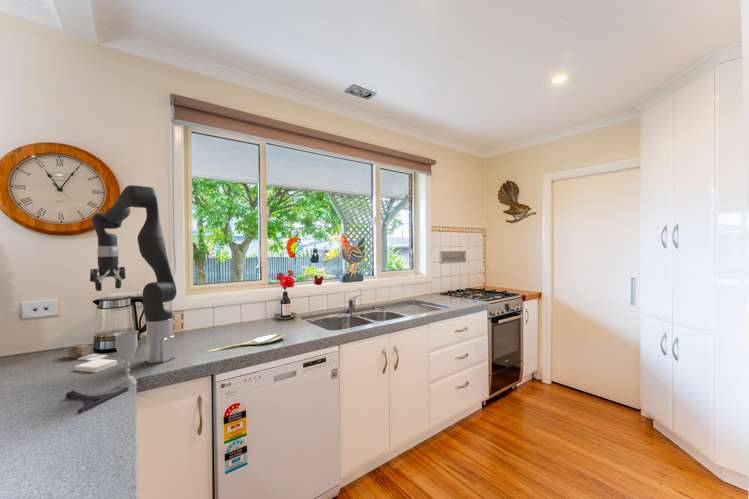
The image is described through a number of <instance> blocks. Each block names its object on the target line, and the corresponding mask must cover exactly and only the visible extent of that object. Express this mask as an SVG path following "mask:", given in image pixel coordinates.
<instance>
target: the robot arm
mask: <svg viewBox="0 0 749 499" xmlns="http://www.w3.org/2000/svg"><path fill="white" fill-rule="evenodd" d="M119 194H120V195H119V196H118V198H117V200H116V201H115V203H114V204H113V205H112V206H110V207H109V208H108V209H106V211H105V213H95V214H94V215H93V216H92V218H91V219H92V220H91V221H92V225H93V228H94V230H95V233H96V237H97V266H98V268H90V271H89V272H90V274H89V282H91V283H94V284H95V285H94V286H95V290H96V292H101V291H102V288H103V287H102V284H103V280H105V278H110V277H112V278H113V279H114V280H115V281H114V282H115V284H114V285H115V286H114V287H115V289H117V290H118V289H121V287H122V281H123V280H125V279H126V268H125V266H119V267H118V265H119V248H118V235H116V234H115V233H111V232H107V231H106V229H109V230H116V229H118V228H121V227H122V223H123V221H124V220H125V219H127V218H128V217H129V216H130V213H131V208H144V209H145V211H146V218H145V222H144V223H143V225H142V227H141V229H140V230H139V232H138V235H137V245H138V250H139V253H140V255H141V257H142V258H143V260H145V262H146V263H147V264H148V265H149V266H150V267H151V269H152V271H153V272H154V274H155V277H156V281H153V282H152V281H151V282H149V283H147V284H145V285H144V287H143V290H142V306H143V314H144V316H145V323H146V324H145V325H146V330H145V332H146V361H147V363H149V364H158V363H165V362H167V361H170V360H172V359H175V358H176V336H175V335H174V328H173V327H174V326H173V325H174V323H173V320H174V319H173V315H174V314H173V312H172V310H169V309H165V308H164V303H168V302H172V301H173V300H174V299H175V298H176V296H177V286H176V283H175V279H174V276H173V273H172V270H171V268H170V263H169V258H168V254H167V249H166V242H165V238H164V234H163V229H162V225H161V217H160V208H159V200H158V195H157V192H156V189H154V187H151V186H144V185H134V184H133V185H128V186H125V188H124V189H123V190H122V191H121V193H119Z"/></svg>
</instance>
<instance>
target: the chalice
mask: <svg viewBox="0 0 749 499" xmlns="http://www.w3.org/2000/svg"><path fill="white" fill-rule="evenodd" d="M139 332H140V331H139V330H137V329H134V330H124V331H119V332H115V333H114V334H113V336H114V337H115V349H116V352H117V354H118V355H119V357H120V358H121V360H123V361H125V364H124V365H123V366H124V367H125V369H124V372H125V376H124V377H122V379H120V382H119V384H118V388H125V387H128V388H129V387H131V386H134V385H136V384H137V383H138V382H137V380H136V378H135V376H134V375H130V371H131V369H130V366H131V364H130V360H131V359H132V358H133V356H134V354H135V353H136V351H137V348H138V346H139V345H138V334H139Z"/></svg>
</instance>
